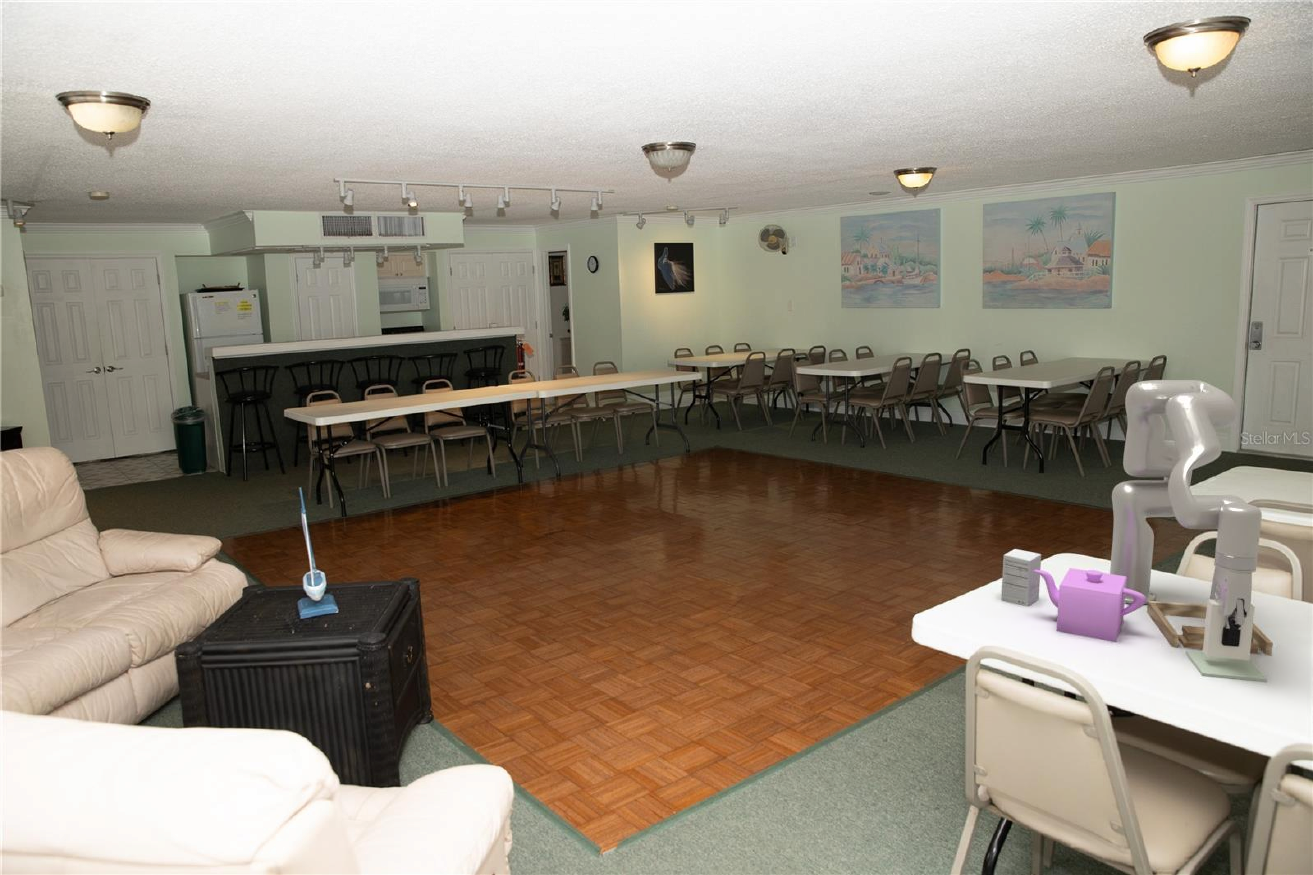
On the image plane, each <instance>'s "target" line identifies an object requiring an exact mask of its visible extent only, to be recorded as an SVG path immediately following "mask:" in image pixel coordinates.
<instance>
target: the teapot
mask: <svg viewBox="0 0 1313 875" xmlns="http://www.w3.org/2000/svg"><path fill="white" fill-rule="evenodd" d="M1034 571H1035V572H1037V573H1038V574H1040V577H1041V578H1042V579H1043V580H1044V582H1045V584H1046V588H1047V593H1048V594H1047V595H1048V596H1049V599H1050V601H1051V603H1052V604H1053V605H1054V606H1055V607H1056V608H1057V617H1056V632H1060V633H1065V634H1066V633H1067V634H1070V635H1077V636H1080V637H1081V636H1082V637H1086V638H1092V639H1099V640H1103V641H1107V642H1108V641H1109V642H1113V643H1117V640H1118V637H1119V635H1120V631H1121V628H1122V626H1123V622H1124V617H1125V616H1126V615H1128V614H1130V613H1131V614H1132V613H1133V612H1135V611H1137V610H1138V609H1141V608H1142V606H1143V605H1145V604H1144V603H1145V601H1146V598H1145V596H1144V595H1143V594H1141V593H1139V592H1137V591H1134V590H1130V589H1126V580H1127V577H1126V576H1120V575H1114V574H1110V573H1105V572H1102V571H1100V570H1095V569H1089V570H1087V569H1079V568H1072V567H1069V569H1068V571H1067V572H1066V573H1065V575H1064V578H1063V579H1062V581H1061V582H1060V585H1058V586H1059V587H1057V586H1056V583H1055V580H1054V577H1053V576H1052V574H1051V573H1049V572H1048V571H1045V570H1041V569H1040V570H1034ZM1125 594H1127V595H1130V596H1132V597H1134V601H1133V602H1132V603H1131V604H1129V605H1127V606H1125V604H1126V603H1125Z"/></svg>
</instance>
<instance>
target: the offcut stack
mask: <svg viewBox="0 0 1313 875" xmlns="http://www.w3.org/2000/svg"><path fill="white" fill-rule="evenodd" d="M1181 631H1182V634H1178V635H1179V637H1178V643H1180V644H1181V646H1182V647H1183V648H1185V649H1187V648H1188V649H1196V650H1197V649H1198V650H1203V644H1204V633H1205V626H1194V625H1185V624H1183V625H1181ZM1258 647H1259V644H1258V642H1257V641H1256V640H1255V639H1254V638H1253V637H1252V638H1251V648H1250V654H1252V655H1253V654H1255V655H1259V651H1260V649H1259V648H1258Z"/></svg>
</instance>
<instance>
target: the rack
mask: <svg viewBox="0 0 1313 875" xmlns="http://www.w3.org/2000/svg"><path fill="white" fill-rule="evenodd" d="M1206 612H1207V604H1194V603H1183V602H1171V601H1170V602H1169V601H1160V600H1159V601H1156V600H1155V601H1148V604H1147V610H1146V613H1147V614H1148V616H1149V618H1151V619H1152V621H1153V623H1154V624H1155V625H1156V627H1157V628H1158V629H1159V631H1160V633H1162V635H1163V637H1164V638H1165V639H1166V641H1167V642H1168V644H1169V645H1170V646H1171V647H1172V648H1178V645H1179V641H1178V637H1179V635H1180V634H1178V632H1177V630H1176V629H1175V628H1174V627H1173V626H1172V624H1171V623H1170V622H1169V620H1168V619H1167V618H1166V616H1175V617H1186V618H1187V617H1188V618H1199V619H1206ZM1252 637H1253V638H1254V639H1255V640H1256V641H1257V642H1258V644H1259V647H1258V649H1259V651H1261V652H1262V654H1264V656H1272V653H1273V641H1272V640H1271V639H1270V638H1268V637H1267V636H1266V634H1265V633H1263V631H1262V630H1261V629H1260V628H1259V627H1258V626H1257V625H1255V623H1254V622H1253V628H1252Z"/></svg>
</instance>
